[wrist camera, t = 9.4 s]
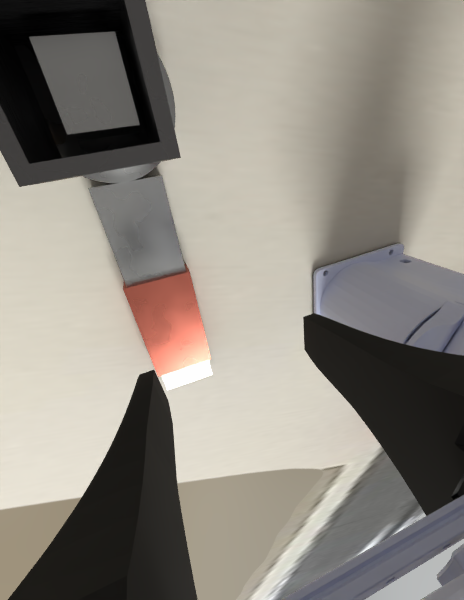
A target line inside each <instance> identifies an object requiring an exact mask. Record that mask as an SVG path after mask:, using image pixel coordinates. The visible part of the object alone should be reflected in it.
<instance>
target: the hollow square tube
mask: <svg viewBox="0 0 464 600" xmlns="http://www.w3.org/2000/svg"><path fill="white" fill-rule="evenodd" d="M99 32H115V34H116V37H122V36H123V38H124V42H125V45H126V49H127V53H128V56H129V60H130V64H131V68H132V71H133V75H134V79H135V83H136V86H137V90H138V94H139V97H140V101H141V105H142V109H143V112H144V116H145V120H146V123H147V127H148V131H149V135H150V138H151V142H152V143H151V144H145V145H139V146H133V147H127V148H121V149H115V150H109V151H103V152H97V153H91V154H85V155H79V156H73V157H67V158H62V156H61V154H60V152H59V149H58V147H57V145H56V142H55V140H54V138H53V135H52V133H51V131H50V128H49V126H48V124H47V121H46V119H45V117H44V114H43V112H42V110H41V107H40V105H39V103H38V100H37V98H36V96H35V93H34V91H33V89H32V86H31V84H30V82H29V79H28V77H27V75H26V72H25V70H24V68H23V65H22V63H21V61H20V58H19V56H18V54H17V52H16V49H15V47H14V46H16V45H28V44H32V43H31V41H30V38H29V37H33V36H49V35H66V34H82V33H99ZM0 151H1V153H2V155H3V157H4V158H5V160H6V162H7V164H8V166H9V168H10V170H11V172H12V174H13V175H14V177H15V179H16V181H17V183H18V185H19V187H21V186H27V185H33V184H39V183H45V182H51V181H57V180H62V179H68V178H73V177H79V176H84V175H90V174H95V173H101V172H106V171H112V170H117V169H123V168H128V167H134V166H139V165H145V164H150V163H156V162H161V161H167V160H171V159H176V158H181V157H180V153H179V148H178V144H177V139H176V135H175V130H174V126H173V122H172V117H171V113H170V108H169V104H168V100H167V95H166V91H165V86H164V82H163V77H162V73H161V69H160V64H159V60H158V55H157V51H156V46H155V42H154V38H153V33H152V29H151V24H150V20H149V16H148V11H147V7H146V2H145V0H0Z"/></svg>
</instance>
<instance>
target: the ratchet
mask: <svg viewBox="0 0 464 600" xmlns="http://www.w3.org/2000/svg"><path fill="white" fill-rule="evenodd" d="M29 38H30V41H31V43H32V44H28V45H16V46H14V47H15V49H16V52H17V54H18V56H19V58H20V61H21V63H22V65H23V68H24V70H25V72H26V75H27V77H28V79H29V82H30V84H31V86H32V89H33V91H34V93H35V96H36V98H37V100H38V103H39V105H40V107H41V110H42V112H43V114H44V117H45V119H46V121H47V124H48V126H49V128H50V131H51V133H52V135H53V138H54V140H55V142H56V145H57V147H58V149H59V152H60V154H61V156H62V158H67V157H73V156H79V155H85V154H91V153H97V152H103V151H109V150H115V149H121V148H127V147H133V146H139V145H145V144H151V143H152V142H151V138H150V135H149V131H148V127H147V123H146V120H145V116H144V112H143V109H142V105H141V101H140V97H139V94H138V90H137V86H136V83H135V79H134V75H133V71H132V68H131V64H130V60H129V56H128V53H127V49H126V45H125V42H124V38H123V36H122V37H116V34H115V32H99V33H82V34H66V35H49V36H33V37H29ZM157 55H158V54H157ZM158 60H159V64H160V69H161V73H162V77H163V82H164V86H165V91H166V95H167V100H168V104H169V108H170V113H171V117H172V122H173V126H174V127H175V103H174V96H173V91H172V88H171V84H170V81H169V78H168V75H167V72H166V70H165V68H164V66H163V64H162V61H161V59H160V58H159V56H158ZM159 163H160V162H156V163H150V164H145V165H139V166H134V167H128V168H123V169H117V170H112V171H106V172H101V173H95V174H90V175H84V176H83V177H85V178H88V179H91V180H95V181H99V182H105V183H111V184H105V185H99V186H93V187H90V188H88V189H89V192H90V194H91V197H92V199H93V202H94V204H95V207H96V210H97V212H98V215H99V217H100V220H101V222H102V225H103V227H104V230H105V233H106V235H107V238H108V240H109V243H110V245H111V248H112V250H113V253H114V256H115V258H116V261H117V263H118V266H119V268H120V271H121V273H122V276H123V279H124V286H123V290H124V292H125V295H126V297H127V300H128V302H129V305H130V307H131V310H132V312H133V315H134V317H135V320H136V322H137V325H138V327H139V330H140V332H141V335H142V337H143V340H144V342H145V345H146V347H147V350H148V352H149V355H150V357H151V360H152V362H153V365H154V367H155V370H156V372H157V375H158V377H159V376H162V378H163V381H164V383H165V386H166V389H167V390H169V389H172V388H175V387H178V386H181V385H184V384H187V383H190V382H193V381H195V380H198V379H201V378H204V377H207V376H210V375H212V372H211V368H210V364H209V360H210V359H211V357H210V353H209V349H208V345H207V341H206V337H205V333H204V328H203V324H202V320H201V316H200V312H199V308H198V304H197V300H196V296H195V292H194V288H193V284H192V280H191V276H190V272H189V270H188V268H187V266H186V264H184V261H183V257H182V253H181V249H180V245H179V241H178V237H177V233H176V229H175V225H174V222H173V218H172V214H171V210H170V206H169V202H168V198H167V194H166V190H165V186H164V182H163V178H162V175H156V176H150V177H145V178H141V177H143V176H144V175H146V174H148V173H149V172H150V171H152V170H153V169H154V168H155V167H156V166H157V165H158V164H159ZM138 178H139V179H138Z"/></svg>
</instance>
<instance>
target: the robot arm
mask: <svg viewBox="0 0 464 600" xmlns="http://www.w3.org/2000/svg"><path fill="white" fill-rule="evenodd" d="M389 251H390V252H389ZM403 251H404V245H403V244H400V243H397V244H394V245H391V246H388V247H385V248H381V249H378V250H375V251H372V252H369V253H366V254H362V255H359V256H356V257H353V258H350V259H347V260H343V261H340V262H337V263H334V264H331V265H328V266H324V267H321V268H318V269H316V270H315V272H314V275H313V278H314V314H311V315H308V316H305V317H303V318H304V344H305V351H306V352H307V354H308V355H309V357H310V358H311V360H312V361H313V362H314V364H315V365H316V367H317V368H318V369H319V370H320V371H321V372H322V373H323V374H324V376H325V377H326V378H327V379H328V380H329V381H330V382H331V383H332V384H333V386H334V387H335V388H336V389H337V390H338V391H339V392H340V393H341V394H342V395H343V397H344V398H345V399H346V400H347V401H348V402H349V403H350V404H351V406H352V407H353V408H354V409H355V410H356V412H357V413H358V414H359V416H360V417H361V418H362V420H363V421H364V422H365V424H366V425H367V426H368V428H369V429H370V430H371V432H372V433H373V435H374V436H375V437H376V439H377V440H378V442H379V443H380V444H381V446H382V447H383V449H384V450H385V452H386V453H387V455H388V456H389V458H390V459H391V461H392V462H393V464H394V465H395V467H396V468H397V470H398V471H399V473H400V474H401V476H402V477H403V479H404V480H405V482H406V484H407V485H408V487H409V488H410V490H411V491H412V493H413V495H414V496H415V498H416V499H417V501H418V503H419V504H420V506H421V508H422V509H423V511H424V513H425V514H426V517H424V518H422V519H421V520H419V521H417V522H415V523H414V524H412V525H410V526H408V527H407V528H405V529H403V530H401V531H400V532H398V533H396V534H394V535H393V536H391V537H389V538H387V539H386V540H384V541H382V542H380V543H379V544H377V545H375V546H373V547H372V548H370V549H368V550H366V551H365V552H363V553H361V554H359V555H358V556H356V557H354V558H352V559H351V560H349V561H347V562H345V563H344V564H342V565H340V566H338V567H337V568H335V569H333V570H331V571H330V572H328V573H326V574H325V575H323V576H321V577H319V578H318V579H316V580H314V581H312V582H311V583H309V584H307V585H305V586H304V587H302V588H300V589H298V590H297V591H295V592H293V593H291V594H290V595H288V596H286V597H284V598H283V599H281V600H364V599H366V598H368V597H369V596H371V595H372V594H374V593H376V592H377V591H379V590H381V589H382V588H384V587H385V586H387V585H389V584H390V583H392V582H394V581H395V580H397V579H399V578H400V577H402V576H403V575H405V574H407V573H408V572H410V571H411V570H413V569H415V568H417V567H418V566H420V565H421V564H423V563H425V562H426V561H428V560H429V559H431V558H433V557H434V556H436V555H438V554H439V553H441V552H443V551H444V550H446V549H447V548H449V547H451V546H452V545H454V544H456V543H457V542H459V541H460V540H462V539H464V274H462V273H459V272H456V271H453V270H450V269H447V268H444V267H441V266H438V265H435V264H432V263H429V262H426V261H423V260H420V259H417V258H414V257H411V256H408V255H405V254H403ZM324 271H325V273H324ZM323 273H324V274H323ZM437 579H438V581H439V582H440V584H441V585H442V587H441V588H439V589H437V590H435V591H434V592H432V593H431V594H429V595H427V596H426V597H424V598H423V599H421V600H464V544H463V545H461V546H460V547H459V548H458V549H456V550H455V551H454V552H453V553H452V556H451V559H450V560H449V562H448V563H447V565H446V566H445V567H444V568H443V569H442V570H441V571H440V572H439V573H438V574H437ZM8 600H197V595H196V590H195V586H194V580H193V574H192V569H191V564H190V559H189V554H188V548H187V542H186V536H185V530H184V525H183V519H182V513H181V507H180V501H179V495H178V487H177V478H176V464H175V450H174V436H173V423H172V418H171V412H170V407H169V402H168V399H167V397H166V395H165V393H164V390H163V388H162V386H161V384H160V382H159V379H158V377H157V375H156V373H155V371H154V370H152V371H149V372H146V373H143V374H140V375H139V377H138V379H137V383H136V386H135V389H134V392H133V394H132V397H131V400H130V403H129V405H128V408H127V410H126V413H125V415H124V418H123V420H122V423H121V425H120V427H119V429H118V431H117V434H116V436H115V438H114V440H113V442H112V444H111V446H110V448H109V450H108V452H107V454H106V456H105V458H104V460H103V462H102V464H101V466H100V467H99V469H98V471H97V473H96V475H95V476H94V478H93V480H92V481H91V483H90V485H89V486H88V488H87V490H86V491H85V493H84V495H83V496H82V498H81V500H80V501H79V503H78V504H77V506H76V507H75V509H74V510H73V512H72V513H71V515H70V516H69V518H68V519H67V521H66V522H65V524H64V525H63V527H62V528H61V529H60V531H59V532H58V534H57V535H56V537H55V538H54V540H53V541H52V542H51V544H50V545H49V547H48V548H47V549H46V551H45V552H44V553H43V555H42V556H41V558H40V559H39V560H38V561H37V563H36V564H35V565H34V567H33V568H32V569H31V570H30V572H29V573H28V574H27V576H26V577H25V578H24V580H23V581H22V582H21V583H20V585H19V586H18V587H17V589H16V590H15V591H14V592H13V594H12V595H11V596H10V597H9V599H8Z"/></svg>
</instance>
